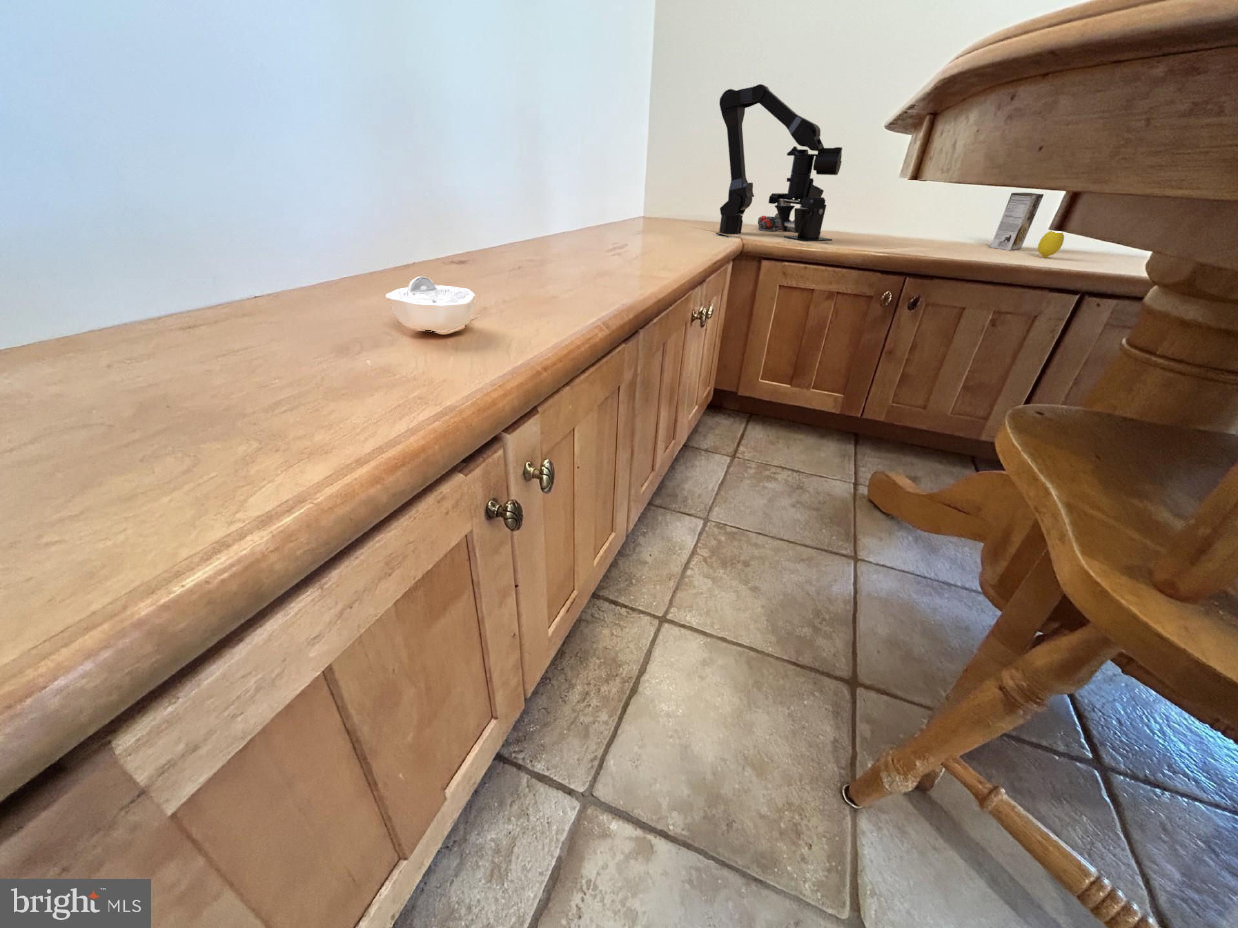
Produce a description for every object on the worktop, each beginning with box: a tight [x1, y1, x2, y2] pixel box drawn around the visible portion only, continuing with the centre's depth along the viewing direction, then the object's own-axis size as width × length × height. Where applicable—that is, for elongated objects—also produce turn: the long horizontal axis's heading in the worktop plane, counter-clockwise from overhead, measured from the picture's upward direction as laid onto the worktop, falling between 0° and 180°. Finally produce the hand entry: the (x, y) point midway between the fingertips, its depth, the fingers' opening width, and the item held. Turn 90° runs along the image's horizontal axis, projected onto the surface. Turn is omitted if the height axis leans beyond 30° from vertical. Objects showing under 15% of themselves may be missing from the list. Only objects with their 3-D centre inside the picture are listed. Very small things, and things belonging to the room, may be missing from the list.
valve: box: [757, 212, 822, 235], centre depth 175 cm, size 6×26×15 cm
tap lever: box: [784, 212, 812, 227], centre depth 155 cm, size 11×5×2 cm, turn 115°
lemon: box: [1037, 230, 1065, 259], centre depth 147 cm, size 6×6×8 cm
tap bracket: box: [783, 204, 833, 243], centre depth 157 cm, size 12×9×11 cm
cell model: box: [385, 276, 476, 335], centre depth 65 cm, size 10×12×7 cm
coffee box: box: [989, 192, 1044, 251], centre depth 161 cm, size 9×6×16 cm
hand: (790, 232), depth 155 cm, fingers closed on tap lever, 5 cm apart
